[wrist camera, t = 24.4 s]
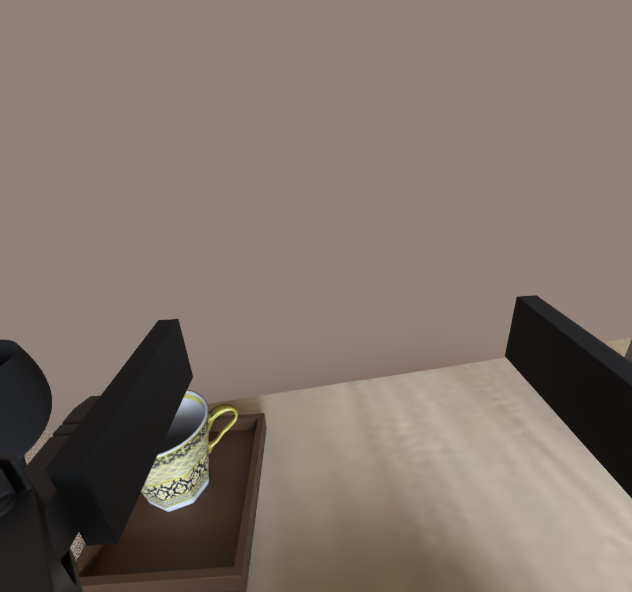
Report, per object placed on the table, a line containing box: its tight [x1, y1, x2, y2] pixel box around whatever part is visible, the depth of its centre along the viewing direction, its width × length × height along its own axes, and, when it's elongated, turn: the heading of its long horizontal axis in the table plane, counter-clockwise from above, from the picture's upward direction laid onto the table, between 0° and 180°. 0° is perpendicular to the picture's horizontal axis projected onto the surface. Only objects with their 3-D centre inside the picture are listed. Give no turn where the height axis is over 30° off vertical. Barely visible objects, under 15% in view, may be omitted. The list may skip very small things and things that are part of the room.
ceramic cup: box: [141, 390, 238, 512], centre depth 40 cm, size 13×10×10 cm
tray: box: [76, 413, 266, 592], centre depth 40 cm, size 16×20×3 cm
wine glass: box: [0, 340, 52, 469], centre depth 37 cm, size 10×10×20 cm
